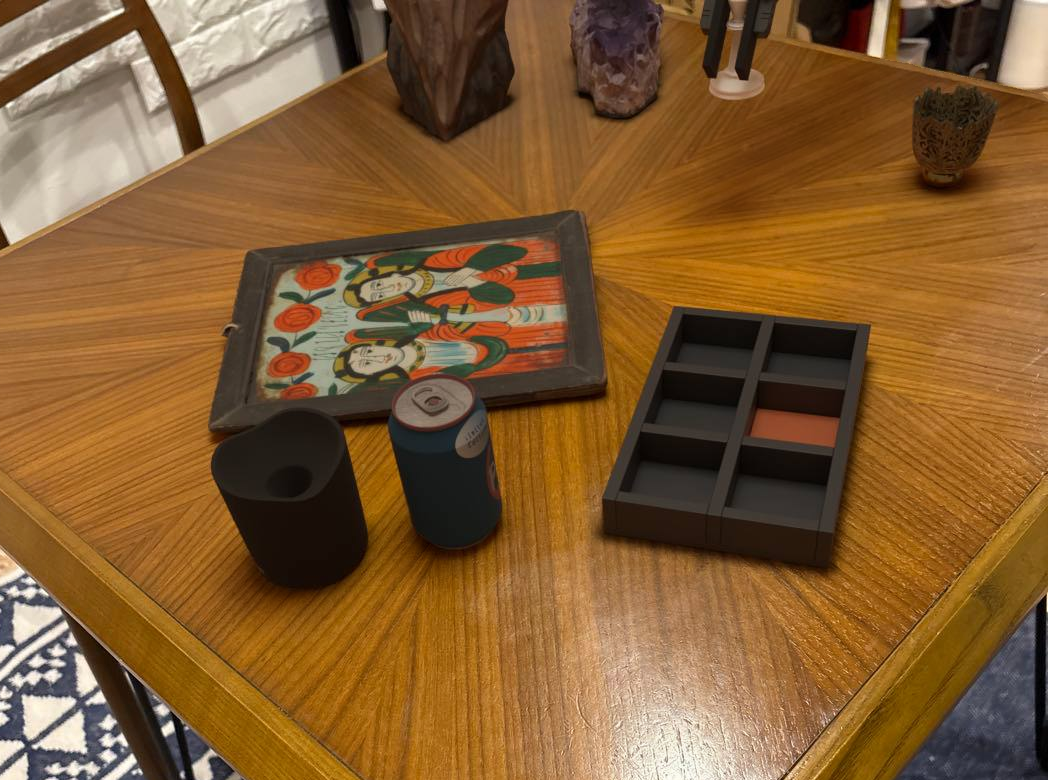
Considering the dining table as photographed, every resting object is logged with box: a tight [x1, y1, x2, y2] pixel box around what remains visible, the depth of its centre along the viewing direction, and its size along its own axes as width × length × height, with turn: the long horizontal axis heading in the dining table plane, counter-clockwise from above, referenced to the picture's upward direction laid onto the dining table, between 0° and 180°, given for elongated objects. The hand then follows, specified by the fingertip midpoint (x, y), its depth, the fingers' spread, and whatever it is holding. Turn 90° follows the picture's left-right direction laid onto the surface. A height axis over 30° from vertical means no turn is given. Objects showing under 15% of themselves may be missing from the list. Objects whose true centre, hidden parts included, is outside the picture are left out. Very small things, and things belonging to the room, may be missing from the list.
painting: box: [207, 209, 609, 434], centre depth 101 cm, size 28×35×2 cm
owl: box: [382, 0, 516, 142], centre depth 123 cm, size 13×13×20 cm
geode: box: [568, 0, 665, 119], centre depth 127 cm, size 20×12×10 cm, turn 2°
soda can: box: [387, 374, 503, 550], centre depth 79 cm, size 7×7×12 cm
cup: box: [911, 84, 1000, 188], centre depth 105 cm, size 8×7×8 cm
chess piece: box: [708, 0, 766, 101], centre depth 96 cm, size 5×5×10 cm
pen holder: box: [210, 407, 369, 591], centre depth 79 cm, size 9×9×10 cm
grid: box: [601, 305, 872, 569], centre depth 84 cm, size 16×24×4 cm
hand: (725, 73), depth 95 cm, fingers closed on chess piece, 2 cm apart
